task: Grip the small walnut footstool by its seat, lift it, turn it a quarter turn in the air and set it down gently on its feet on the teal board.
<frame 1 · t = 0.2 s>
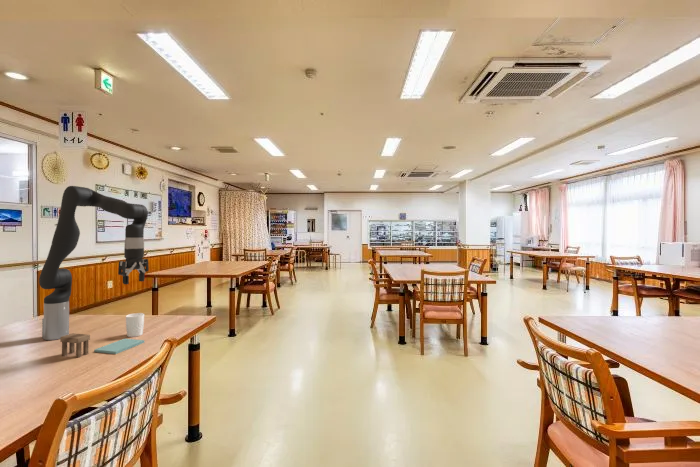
hand: (133, 282, 150), 29 cm above the table, tool pointing down, fingers open, 8 cm apart
stool: (75, 354, 138), on the table
white cup: (134, 335, 165), on the table
board: (120, 346, 148), on the table
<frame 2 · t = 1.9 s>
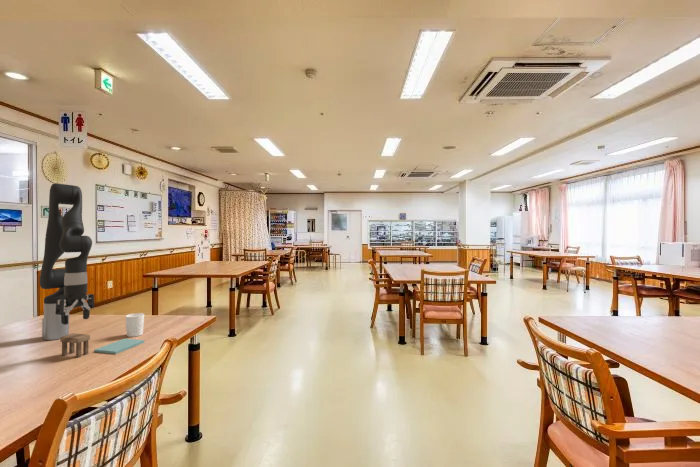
hand: (75, 321, 138), 14 cm above the table, tool pointing down, fingers open, 8 cm apart
nothing on the table moved.
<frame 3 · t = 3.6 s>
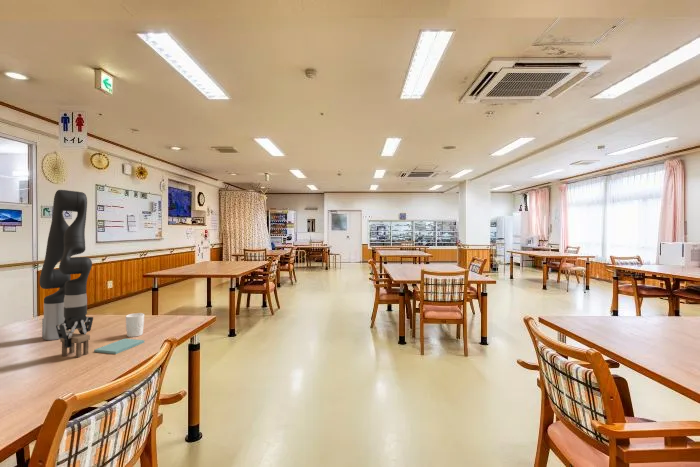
hand: (75, 344, 138), 4 cm above the table, tool pointing down, fingers closed on stool, 5 cm apart
stool: (75, 354, 138), on the table, touching gripper
everything else where it was.
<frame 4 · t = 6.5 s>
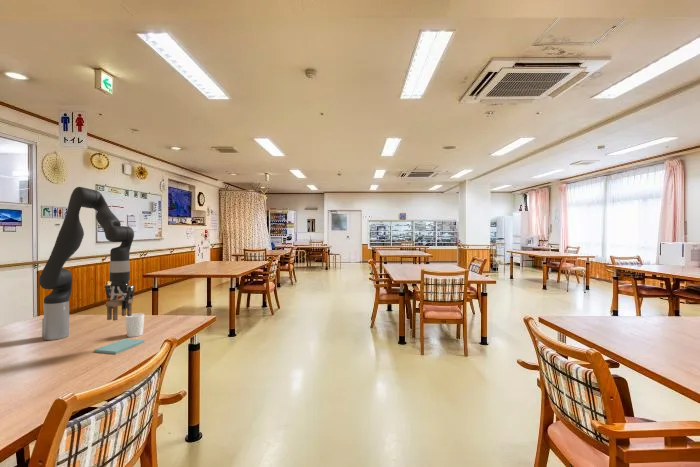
hand: (119, 308, 147), 18 cm above the table, tool pointing down, fingers closed on stool, 5 cm apart
stool: (119, 317, 147), point 13 cm above the table, touching gripper
everything else where it was.
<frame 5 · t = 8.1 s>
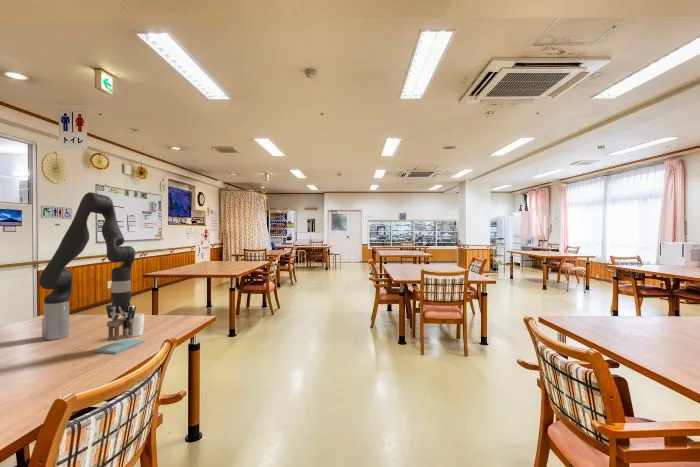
hand: (120, 327, 148), 9 cm above the table, tool pointing down, fingers closed on stool, 5 cm apart
stool: (120, 337, 148), point 4 cm above the table, touching gripper
everything else where it was.
when the fingers open (7 cm above the table, at t = 9.4 s): stool drops 1 cm, resting on board.
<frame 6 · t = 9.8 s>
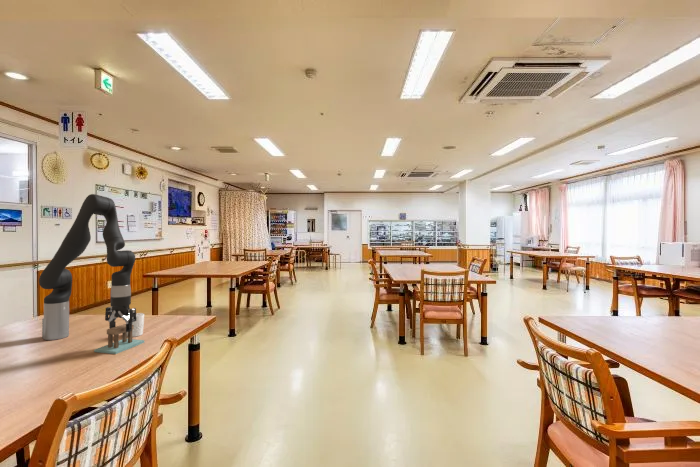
hand: (120, 330, 148), 7 cm above the table, tool pointing down, fingers open, 8 cm apart
stool: (120, 344, 148), point 1 cm above the table, touching board
everything else where it was.
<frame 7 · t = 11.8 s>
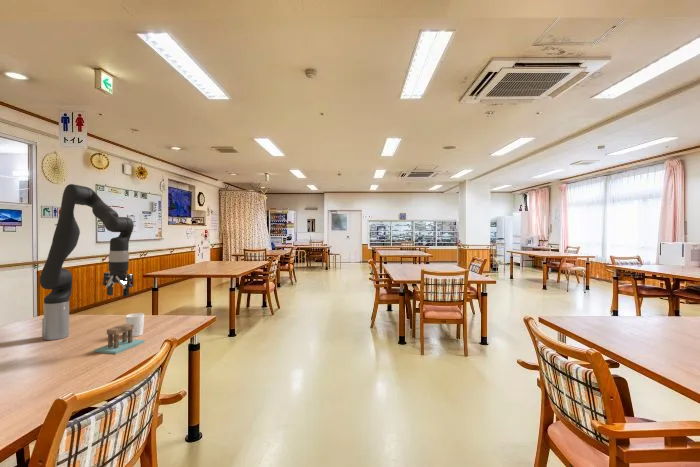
hand: (117, 295, 150), 23 cm above the table, tool pointing down, fingers open, 8 cm apart
nothing on the table moved.
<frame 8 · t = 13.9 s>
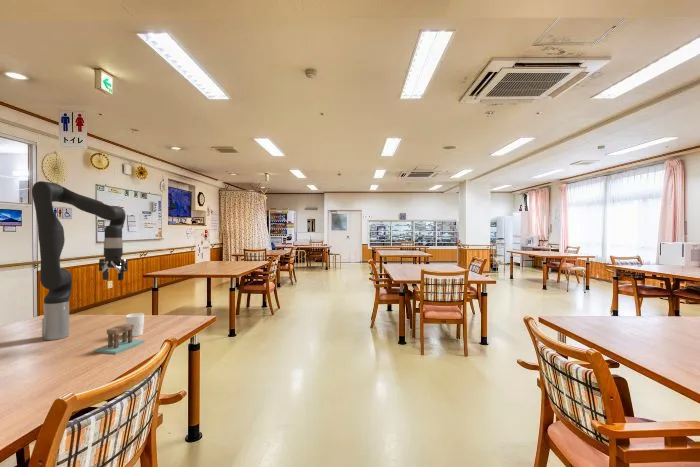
hand: (113, 280, 160), 28 cm above the table, tool pointing down, fingers open, 8 cm apart
nothing on the table moved.
at the end: stool inside the target area on the board (0.0 cm from its centre), point 1.0 cm above the board's base; stool tilted 0°; the gripper is holding nothing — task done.
